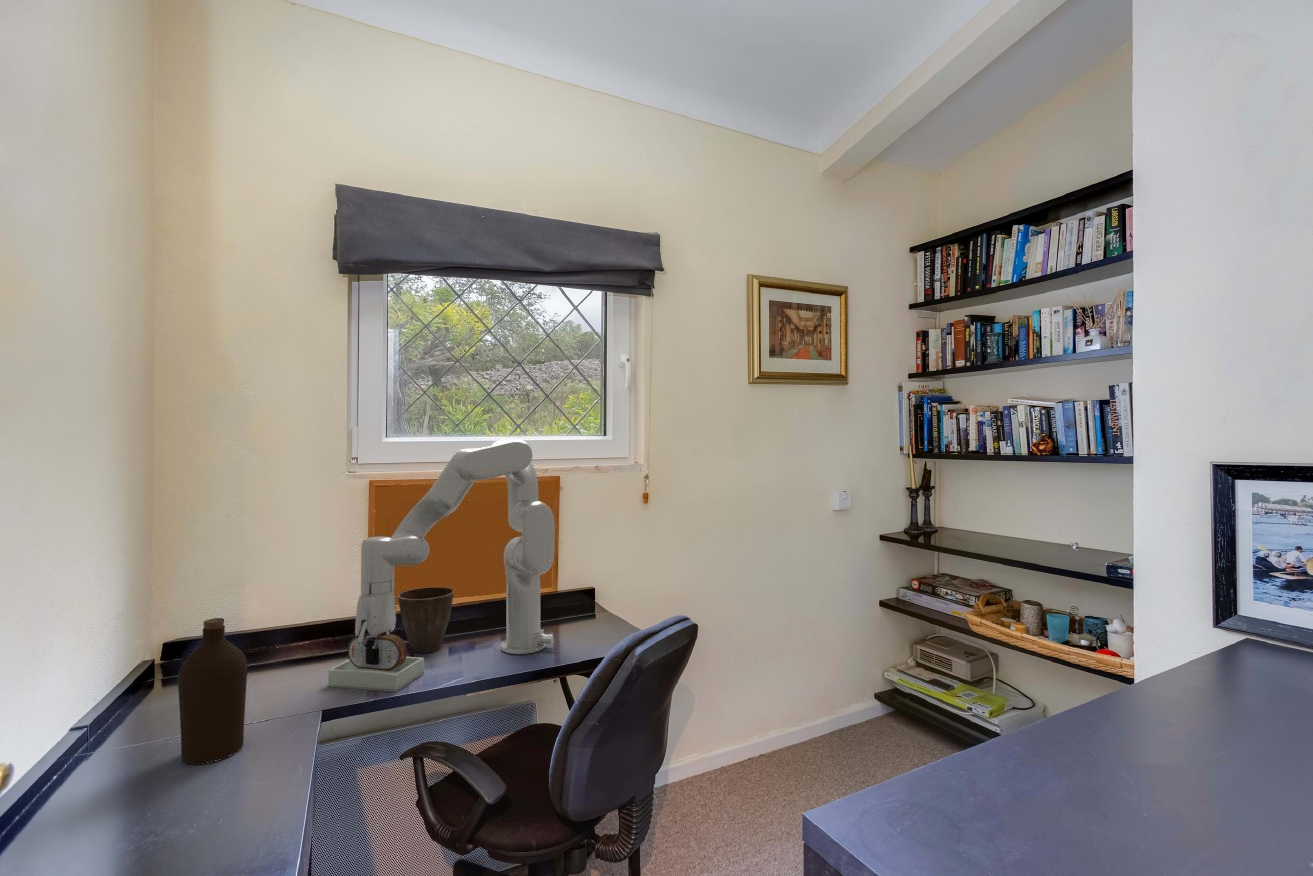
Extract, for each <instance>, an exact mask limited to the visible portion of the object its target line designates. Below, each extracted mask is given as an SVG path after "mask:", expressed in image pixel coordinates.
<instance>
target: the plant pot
mask: <svg viewBox="0 0 1313 876" xmlns="http://www.w3.org/2000/svg"><path fill="white" fill-rule="evenodd" d="M454 591H455V590H454V589H453V588H450V587H444V586H441V587H440V586H434V587H433V586H432V587H431V586H430V587H421V588H419V587H418V588H414V589H409V590H405V591H403V592H401V593H399V594H397V599H398V604H399V605H398V607H399V612H400V616H401V621H402V624H403V628H404V631H405V634H406V635H405V636H406V638H407V640H408V642H409V645H410V648H411V650H412V652H414V653H416V654H427V653H432V652H435V651H438V650H439V649H441V646H442V643H443V641H444V637H445V635H446V632H447V628H448V625H449V620H450V616H451V613H452V607H453V600H454Z"/></svg>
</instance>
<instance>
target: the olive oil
mask: <svg viewBox="0 0 1313 876" xmlns="http://www.w3.org/2000/svg"><path fill="white" fill-rule="evenodd" d="M224 624H225V618H224V617H223V618H222V617H215V618H210V619H206V620H205V621H204V620H203V628H202V641H201V643H200V644H199V645H198V646H197V647H196V648H195V649H194V651H192V652H191V653H190V654H189V655H188V656H187V657H186V659H185V660H184V661H183V662H182V664H181V666H180V669H179V672H178V675H177V688H178V689H177V690H178V702H179V706H178V707H179V720H180V721H179V724H180V748H181V749H180V753H181V755H180V756H181V762H182V763H184V764H185V763H186V765H189V764H192V765H193V766H198V765H197V764H201V765H204V764H203V763H207V762H211V761H215V760H219V759H222V760H224V759H223V758H225V757H227V758H229V757H230V756H229V755H231V754H233V753H235V752H237V751H238V750H239V749H240V750H241V749H242V748H243V745H244V732H245V731H244V730H245V713H246V711H245V710H246V696H247V682H248V672H249V667H248V661H247V658H246V655H245V653H244V651H242V650H241V649H240V648H238V647H237V646H235V644H233V643H231V642H230V641H229V640H227V638H226V637H225V633H226V632H225V631H226V630H225V629H226V626H225V625H224ZM241 747H242V748H241ZM240 750H239V751H240ZM239 751H238V752H239ZM238 752H237V753H238ZM235 754H236V753H235ZM233 755H234V754H233ZM228 756H229V757H228ZM231 756H232V755H231ZM225 759H226V758H225ZM219 761H220V760H219ZM192 765H191V766H192Z"/></svg>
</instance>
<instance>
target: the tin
mask: <svg viewBox="0 0 1313 876" xmlns="http://www.w3.org/2000/svg"><path fill="white" fill-rule="evenodd" d="M358 638H359V637H358V636H356V635H355V637H353V638H352V639H351V640H350V642H348V646H347V656H348V660H350V661H351V663H352V664H353V665H354V666H356V667H358V668H363V669H373V670H382V671H390V670H393V669H395V668H397V667H399V666H401V665H402V664H403V663H404V661H405V659H406V657H408V656H407V655H408V650H407V645H406V643H405V642H404V640H403V638H401V637H400V636H398V635H395V634H392V633H391V634H380V635H378V644H377V648H379V664H378V665H369V664H366V649H365V648H364V645H363V644H360V643H358ZM370 640H371V641H372V642H373V639H371V638H370Z"/></svg>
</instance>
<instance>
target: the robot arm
mask: <svg viewBox="0 0 1313 876" xmlns="http://www.w3.org/2000/svg"><path fill="white" fill-rule="evenodd" d="M532 460H533V450H532V447H531V446H530V445H529V444H528V443H527V442H525V441H524V440H521V439H500V440H499V439H498V440H496V441H494V442H493V443H491V444H490V446H486V447H480V448H463V449H459V450H458V451H457V452H455V454H453V455H452V457H451V458H450V460H449V461H448V462H447V464H446V466H445V467H444V468H443V470H442V472H441V473H440V474H439V476H438V478H437V479H436V480H435V482H434V483H433V484H432V486H431V488H430V489H429V490H428V491H427V493H426V494H425V495H424V496H423V497H422V498H421V499H420V500H419V501H417V503H416V504H415V505H414V506H413V507H412V508H411V510H410V511H409V512H408V513H407V514H406V515H405V517H404V518H403V519H402V521H401V522H400V524H398V526H397V528H396V530H395V531H394V532H393V534H392V535H391V537H390V536H371V537H367V538H364V540H362V541H361V545H360V546H361V547H360V549H361V550H360V554H361V555H360V595H359V597H358V601H357V605H356V613H355V626H354V634H355V637H356V636H358V637H359V638H358V643H360V644H363V645H364V648H365V649H366V664H369V665H378V664H379V648H377V644H378V635H380V634H391V635H392V632H394V630H395V629H396V621H397V605H396V604H397V603H396V596H395V566H415V565H419V564H421V563H423V562H424V561H425V560H426V559H427V558H428V556H429V553H430V545H429V543H428V542H427V541H428V540H426V539H425V537H426V535H427V533H428V532H429V531H430V530H431V529H432V528H433V527H434V526H435V525H436V524H437V523H438V522H439V521H440V520H442V519H444V518H445V517H447V516H449V515H451V514H453V513H454V511H456V510H457V509H458V507H459V505H461V503H462V501H463V500H464V498H465V497H466V495H467V494H468V493H469V491H470V489H471V488H472V487H473V485H474V483H475V482H481V481H486V480H491V479H494V478H498V477H502V476H504V477H505V480H506V483H507V507H508V508H507V520H508V525H509V526H510V527H511V528H512V530H514V531H516V532H519V533H521V536H516V537H514V538H512V539H510V541H508V542H507V544H506V546H505V548H504V551H503V564H504V569H505V570H504V571H505V578H506V579H505V581H506V600H505V601H506V603H505V604H506V605H505V606H506V609H505V610H506V619H505V620H506V640H504V641H503V642H502V643H501V644H500V650H501V651H502V652H504V653H506V654H509V655H510V654H511V655H525V654H526V655H527V654H533V653H537V652H539V651H541V650H544V648H546V646H547V645H553V644H554V641H555V639H554V637H553V634H545V633H544V628H543V629H541V578H540V576H541V575H544V574H546V573H547V572H548V571H549V570H550V568H551V567H552V565H553V563H554V560H555V559H554V558H555V538H556V537H555V534H556V533H555V532H556V531H555V530H556V529H555V525H556V524H555V517H554V513H553V511H552V509H551V507H549V505H547V504H546V503H544V502H543V501H539V481H538V475H537V472H536V469H535V467H534V465H533V464H532ZM370 638H371V639H373V642H372V641H371V640H370Z"/></svg>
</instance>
